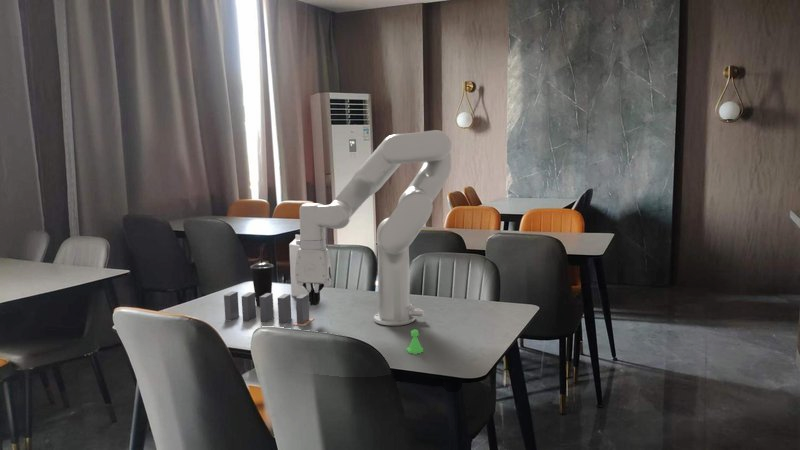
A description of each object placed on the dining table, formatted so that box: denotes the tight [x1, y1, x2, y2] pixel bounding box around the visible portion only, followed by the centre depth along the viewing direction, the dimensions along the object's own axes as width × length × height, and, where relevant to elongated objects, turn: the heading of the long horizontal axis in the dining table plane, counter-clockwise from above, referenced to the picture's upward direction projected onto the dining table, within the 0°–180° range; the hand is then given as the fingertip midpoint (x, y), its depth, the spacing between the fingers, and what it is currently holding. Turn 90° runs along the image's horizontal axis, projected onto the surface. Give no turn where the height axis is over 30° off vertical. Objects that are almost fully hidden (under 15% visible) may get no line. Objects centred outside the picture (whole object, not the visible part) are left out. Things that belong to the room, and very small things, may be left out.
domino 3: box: [259, 292, 275, 324], centre depth 186 cm, size 2×5×8 cm, turn 166°
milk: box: [288, 234, 315, 298], centre depth 215 cm, size 6×6×22 cm
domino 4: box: [277, 293, 292, 324], centre depth 185 cm, size 2×5×8 cm, turn 166°
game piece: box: [406, 328, 424, 355], centre depth 156 cm, size 4×4×6 cm
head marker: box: [292, 317, 314, 327], centre depth 184 cm, size 4×7×1 cm, turn 167°
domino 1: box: [223, 291, 240, 321], centre depth 189 cm, size 2×5×8 cm, turn 166°
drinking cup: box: [250, 246, 274, 308], centre depth 203 cm, size 8×8×20 cm
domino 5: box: [295, 294, 310, 324], centre depth 183 cm, size 2×5×8 cm, turn 166°
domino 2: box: [241, 292, 257, 323], centre depth 188 cm, size 2×5×8 cm, turn 166°
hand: (314, 304), depth 182 cm, fingers closed
